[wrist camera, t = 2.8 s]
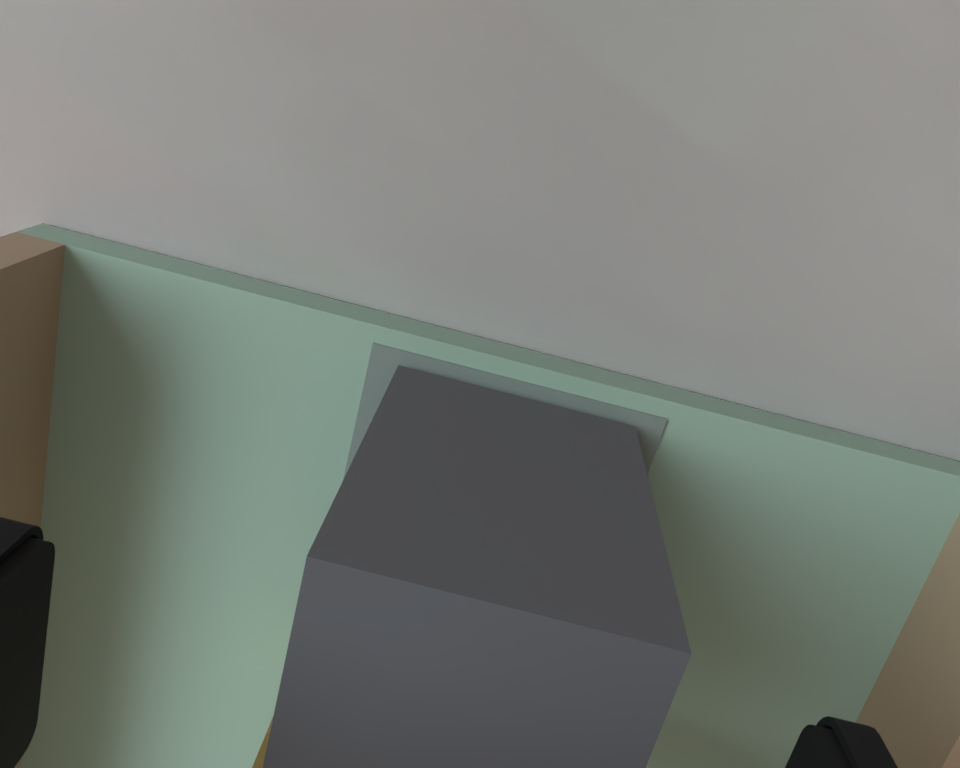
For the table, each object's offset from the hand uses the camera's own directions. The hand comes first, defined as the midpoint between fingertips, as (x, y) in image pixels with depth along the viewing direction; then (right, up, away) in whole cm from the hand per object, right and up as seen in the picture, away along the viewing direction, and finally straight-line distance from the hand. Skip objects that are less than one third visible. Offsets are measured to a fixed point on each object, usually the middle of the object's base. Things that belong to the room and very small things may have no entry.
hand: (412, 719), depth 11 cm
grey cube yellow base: (+1, +1, +5) cm, 5 cm away
